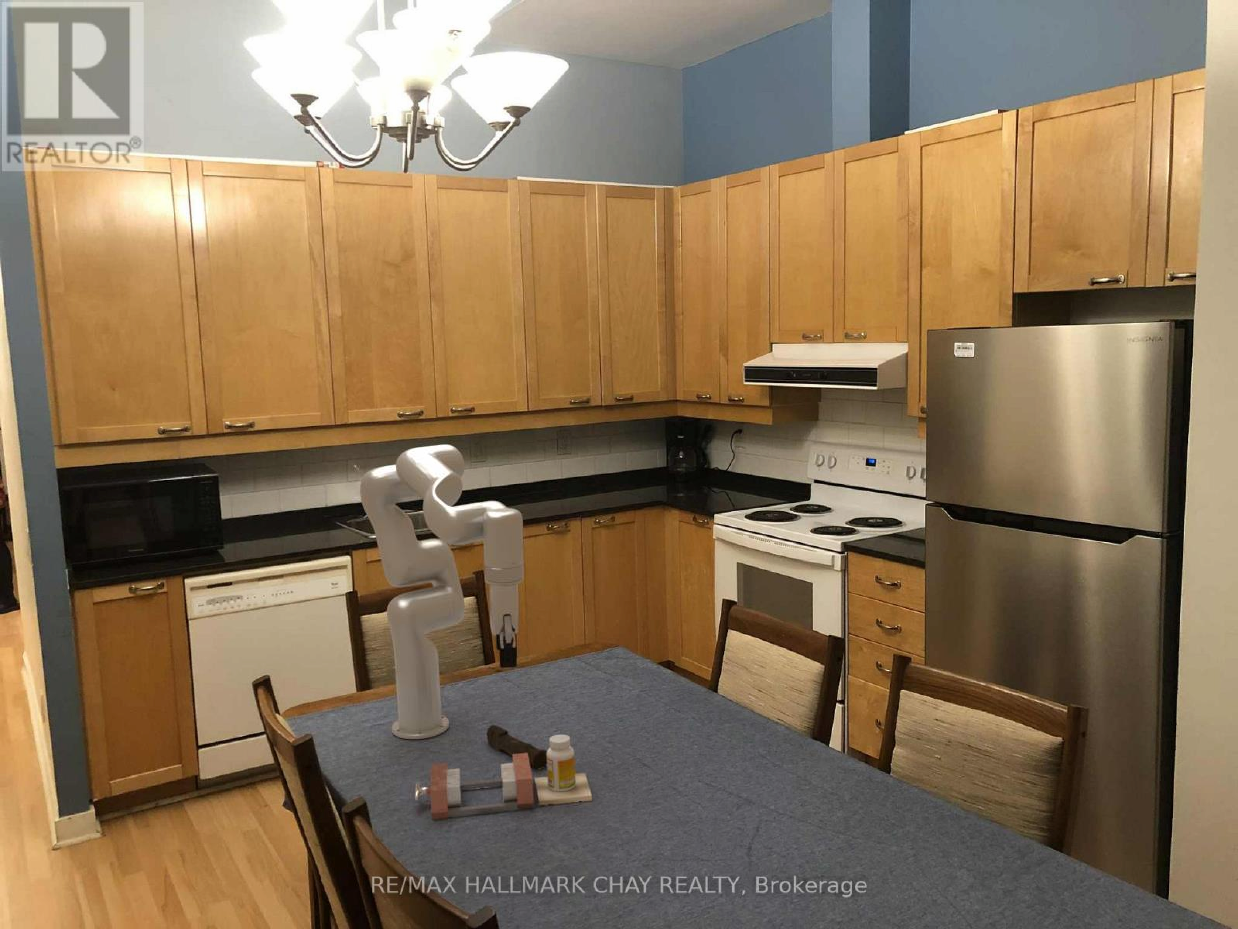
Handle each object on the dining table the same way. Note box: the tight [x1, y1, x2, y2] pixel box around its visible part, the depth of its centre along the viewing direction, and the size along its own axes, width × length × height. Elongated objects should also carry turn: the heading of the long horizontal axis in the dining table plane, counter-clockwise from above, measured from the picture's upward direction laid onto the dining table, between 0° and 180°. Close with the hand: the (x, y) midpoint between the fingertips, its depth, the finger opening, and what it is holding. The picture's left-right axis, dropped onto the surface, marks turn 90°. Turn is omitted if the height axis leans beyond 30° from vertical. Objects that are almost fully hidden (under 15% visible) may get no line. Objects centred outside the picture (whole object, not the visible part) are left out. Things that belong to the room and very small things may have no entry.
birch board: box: [534, 772, 593, 807], centre depth 197 cm, size 10×10×1 cm
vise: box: [414, 753, 535, 820], centre depth 194 cm, size 12×22×6 cm, turn 99°
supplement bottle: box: [546, 734, 576, 792], centre depth 197 cm, size 5×5×10 cm
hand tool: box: [486, 724, 547, 771], centre depth 215 cm, size 19×4×5 cm, turn 40°
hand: (506, 657), depth 199 cm, fingers open, 9 cm apart
